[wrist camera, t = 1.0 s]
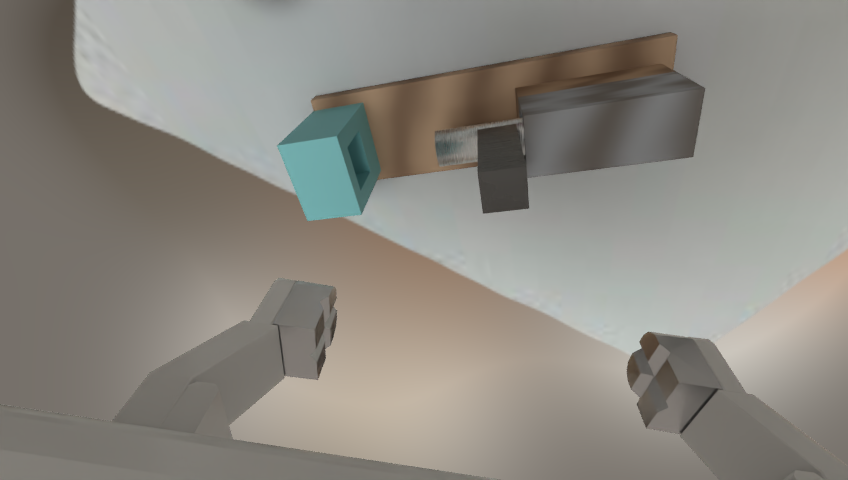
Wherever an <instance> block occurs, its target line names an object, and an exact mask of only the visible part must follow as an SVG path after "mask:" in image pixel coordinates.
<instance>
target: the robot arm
mask: <svg viewBox="0 0 848 480" xmlns="http://www.w3.org/2000/svg"><path fill="white" fill-rule="evenodd" d="M336 298H337V297H336V288H335V287H333V286H327V285H321V284H315V283H309V282H304V281H295V280H289V279H283V278H278V279H277V280H275V281H274V283H273V284H272V286H271V288H270V290H269V291H268V293H267V294H266V296H265V297H264V299H263V301H262V302H261V304H260V305H259V307H258V309H257V310H256V312H255V313H254V315H253V317H252V318H251V320H250V321H242V322H240V323H239V324H237V325H235V326H233V327H231V328H229V329H228V330H226V331H224V332H222V333H220V334H219V335H217V336H215V337H213V338H211V339H210V340H208V341H206V342H204V343H202V344H201V345H199V346H197V347H195V348H193V349H191V350H190V351H188V352H186V353H184V354H182V355H181V356H179V357H177V358H175V359H173V360H171V361H170V362H168V363H166V364H164V365H162V366H161V367H159V368H157V369H155V370H154V371H152V372H150V373H149V374H148V376H147V377H146V378H145V380H144V381H143V382H142V383H141V385H140V386H139V387H138V388H137V390H136V391H135V392H134V394H133V395H132V396H131V397H130V399H129V400H128V401H127V402H126V404H125V405H124V406H123V407H122V409H121V410H120V411H119V413H118V414H117V415H116V416H115V417H114V419H113V420H112V421H107V420H101V419H94V418H87V417H81V416H74V415H67V414H61V413H54V412H48V411H41V410H34V409H28V408H21V407H14V406H8V405H1V404H0V480H498V479H492V478H485V477H479V476H472V475H465V474H459V473H452V472H445V471H439V470H432V469H426V468H419V467H413V466H405V465H399V464H393V463H386V462H379V461H373V460H366V459H359V458H353V457H346V456H340V455H333V454H326V453H320V452H313V451H306V450H300V449H293V448H286V447H280V446H273V445H266V444H260V443H253V442H246V441H240V440H233V438H232V434H231V431H230V427H229V425H230V424H231V423H232V422H233V421H235V420H236V419H237V418H238V417H239V416H240V415H241V414H243V413H244V412H245V411H246V410H247V409H249V408H250V407H251V406H252V405H253V404H255V403H256V402H257V401H258V400H259V399H260V398H262V397H263V396H264V395H265V394H266V393H267V392H269V391H270V390H271V389H272V388H273V387H274V386H276V385H277V384H278V383H279V382H280V381H281V380H282V379H284V376H290V377H299V378H307V379H316V380H318V378H319V375H320V373H321V370H322V367H323V364H324V362H325V359H326V355H325V349H326V348H327V347H329V346H330V345H331V342H332V340H333V337H334V332H335V328H336V321H337V310H336V309H335V308H334V307H333V306H334V303H335V301H336ZM640 345H641V347H642V348H641V349H640V350H638V351H636V352H634V353H632V355H631V357H630V359H629V361H628V366H627V378H628V382H629V385H630V388H631V390H633V391H634V392H635V393H636V394H637V395H638V396H639V397H640V398H639V401H638V403H637V406H638V409H639V411H640V414H641V417H642V419H643V422H644V424H645V427H646V428H648V429H653V430H659V431H665V432H670V433H676V434H681V435H680V437H681V438H682V439H683V440H684V441H685V442H686V443H687V444H688V446H689V447H690V448H691V449H692V450H693V451H694V452H695V453H696V454H697V456H698V457H699V458H700V459H701V460H702V461H703V462H704V463H705V465H706V466H707V467H708V468H709V469H710V470H711V471H712V472H713V474H714V475H715V476H716V477H717V478H718V479H719V480H848V465H846V464H845V463H843V462H842V461H841V460H840V459H838V458H837V457H836V456H834V455H833V454H832V453H830V452H829V451H828V450H826V449H825V448H823V447H822V446H821V445H820V444H818V443H817V442H816V441H814V440H813V439H812V438H810V437H809V436H808V435H806V434H805V433H804V432H802V431H801V430H800V429H798V428H797V427H795V426H794V425H793V424H792V423H790V422H789V421H788V420H786V419H785V418H784V417H782V416H781V415H779V414H778V413H777V412H776V411H774V410H773V409H772V408H770V407H769V406H768V405H766V404H765V403H764V402H762V401H761V400H760V399H758V398H757V397H756V396H754V395H752V394H747V393H746V392H745V390H744V389H743V387H742V386H741V384H740V383H739V381H738V379H737V378H736V376H735V375H734V373H733V372H732V370H731V369H730V368H729V366H728V364H727V362H726V361H725V359H724V358H723V357H722V355H721V353H720V352H719V350H718V349H717V347H716V346H715V344H714V343H713V342H711V341H710V340H709V339H701V338H693V337H684V336H677V335H669V334H662V333H655V332H647V333H646V334H644V335H643V337H642V338H641V340H640Z"/></svg>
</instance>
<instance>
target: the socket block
mask: <svg viewBox="0 0 848 480" xmlns="http://www.w3.org/2000/svg"><path fill="white" fill-rule="evenodd" d="M277 147H278V149H279V151H280V154H281V156H282V159H283V161H284V164H285V166H286V169H287V171H288V174H289V176H290V179H291V181H292V184H293V186H294V189H295V191H296V194H297V196H298V198H299V201H300V203H301V206H302V208H303V211H304V213H305V215H306V218H307V220H308V221H311V220H320V219H328V218H337V217H345V216H354V215H362V212H363V210H364V208H365V206H366V203H367V201H368V199H369V197H370V194H371V192H372V190H373V188H374V185H375V183H376V181H377V179H378V176H379V174H380V172H381V167H380V164H379V160H378V156H377V152H376V149H375V145H374V141H373V138H372V134H371V130H370V126H369V123H368V119H367V115H366V111H365V108H364V104H363V103H357V104H351V105H346V106H340V107H334V108H328V109H322V110H317V111H313V112H312V113H311V114H310V115H309V116H308V117H307V118H306V119H305V120H304V121H303V122H302V123H301V124H300V125H299V126H298V127H296V128H295V129H294V130H293V131H292V132H291V133H290V134H289V135H288V136H287V137H286V138H285V139H284V140H283V141H282V142H281V143H279V144H278V145H277Z"/></svg>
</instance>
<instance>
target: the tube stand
mask: <svg viewBox="0 0 848 480" xmlns="http://www.w3.org/2000/svg"><path fill="white" fill-rule="evenodd" d="M677 37H678V35H676V34H673V33H671V32H670V33H664V34H659V35H653V36H647V37H642V38H636V39H631V40H625V41H620V42H614V43H609V44H603V45H597V46H592V47H586V48H581V49H575V50H570V51H564V52H559V53H553V54H547V55H542V56H536V57H531V58H525V59H520V60H514V61H509V62H503V63H497V64H492V65H486V66H481V67H475V68H470V69H464V70H459V71H453V72H447V73H442V74H436V75H431V76H425V77H420V78H414V79H409V80H403V81H397V82H392V83H386V84H381V85H375V86H370V87H364V88H359V89H353V90H347V91H342V92H336V93H331V94H325V95H320V96H315V97H314V98H313V99H312V100H311V103H312V106H313V109H314V111H317V110H322V109H328V108H334V107H340V106H346V105H351V104H357V103H363V104H364V108H365V111H366V115H367V119H368V123H369V126H370V130H371V134H372V138H373V141H374V145H375V149H376V152H377V156H378V160H379V164H380V167H381V172H380V174H379V176H378V179H377V180H379V179H386V178H394V177H401V176H409V175H416V174H424V173H431V172H439V171H446V170H454V169H461V168H468V167H476V166H478V162H471V163H464V164H457V165H449V166H442V167H440V166H439V164H438V160H437V155H436V149H435V131H438V130H444V129H451V128H457V127H464V126H470V125H477V124H483V123H490V122H496V121H503V120H509V119H516V118H522V119H523V124H524V141H525V155H524V158H525V162H526V167H527V178H530V177H538V176H546V175H554V174H562V173H570V172H578V171H586V170H594V169H601V168H609V167H617V166H625V165H633V164H641V163H649V162H657V161H665V160H673V159H681V158H689V157H693V155H694V149H695V143H696V137H697V132H698V126H699V120H700V115H701V109H702V103H703V98H704V92H705V88H704V87H702V86H700V85H699V84H697V83H695V82H693V81H691V80H690V79H688V78H686V77H684V76H683V75H681V74H679V73H677V72H675V71H674V70H673V67H674V59H675V52H676V44H677Z"/></svg>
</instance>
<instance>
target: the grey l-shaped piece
mask: <svg viewBox="0 0 848 480" xmlns="http://www.w3.org/2000/svg"><path fill="white" fill-rule="evenodd" d="M435 149H436V155H437V160H438V164H439V166H440V167H442V166H449V165H457V164H464V163H471V162H478V178H479V186H480V194H481V201H482V209H483V213H492V212H501V211H510V210H519V209H528V208H529V200H528V184H527V167H526V162H525V158H524V155H525V141H524V124H523V119H522V118H516V119H509V120H503V121H496V122H490V123H483V124H477V125H470V126H464V127H457V128H451V129H444V130H438V131H435Z"/></svg>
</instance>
